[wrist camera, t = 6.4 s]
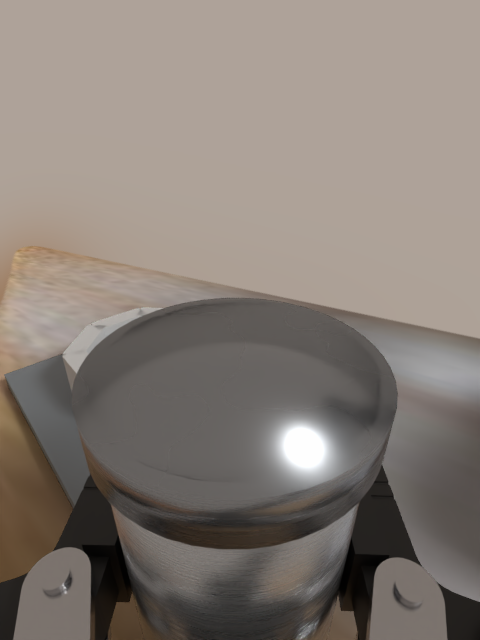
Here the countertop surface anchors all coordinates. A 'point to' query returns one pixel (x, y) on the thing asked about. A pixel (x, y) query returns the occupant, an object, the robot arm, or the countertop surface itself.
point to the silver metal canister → (234, 461)
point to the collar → (62, 401)
